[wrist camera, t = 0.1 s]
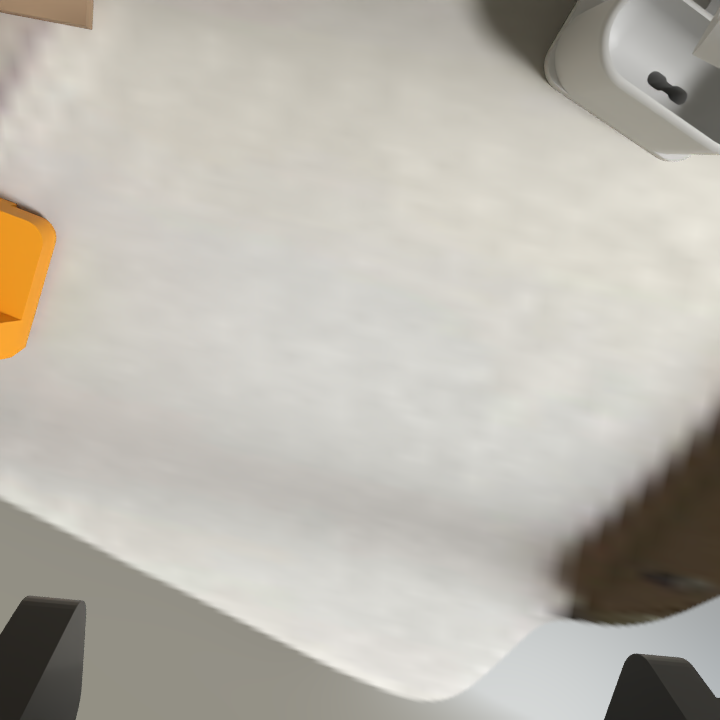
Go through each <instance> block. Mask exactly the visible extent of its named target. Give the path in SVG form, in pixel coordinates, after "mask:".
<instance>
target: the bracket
mask: <svg viewBox="0 0 720 720" xmlns="http://www.w3.org/2000/svg"><path fill="white" fill-rule="evenodd" d="M16 206H17V204H15V203H13V202H10V201H8V200H5V199H2V198H0V359H5V358H10V357H12V356H14V355H15V354H16V353H18V352H19V351H21V350H22V349H23V348H25V347H26V343H27V340H28V336H29V333H30V329H31V326H32V322H33V319H34V315H35V312H36V309H37V305H38V302H39V298H40V295H41V291H42V288H43V284H44V281H45V277H46V274H47V270H48V267H49V264H50V260H51V257H52V253H53V250H54V246H55V243H56V233H55V230H54V228H53V226H52V225H51V224H50V223H49V222H48V221H47V220H46V219H44V218H42V217H40V216H37V215H35V214H32V213H29V212H27V211H24V210H22V209H19V208H16Z"/></svg>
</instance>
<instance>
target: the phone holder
mask: <svg viewBox="0 0 720 720" xmlns="http://www.w3.org/2000/svg"><path fill="white" fill-rule="evenodd" d="M544 72H545V76H546V79H547V81H548V82H549V84H550V85H551V86H552V87H553V88H554V89H555V90H557V91H558V92H560V93H561V94H563V95H564V96H566V97H567V98H569V99H570V100H572V101H573V102H575V103H576V104H578V105H579V106H581V107H582V108H584V109H585V110H587V111H588V112H590V113H591V114H593V115H594V116H596V117H597V118H599V119H600V120H602V121H603V122H605V123H606V124H608V125H609V126H610V127H612V128H613V129H615V130H616V131H618V132H619V133H621V134H622V135H624V136H625V137H627V138H628V139H630V140H631V141H633V142H634V143H636V144H637V145H639V146H640V147H642V148H643V149H645V150H646V151H648V152H649V153H651V154H652V155H654V156H655V157H657V158H658V159H660V160H663V161H682V160H685V159H687V158H689V157H690V156H691V155H720V0H578V1H577V3H576V4H575V6H574V8H573V9H572V11H571V13H570V14H569V16H568V18H567V20H566V21H565V23H564V25H563V26H562V28H561V30H560V31H559V33H558V35H557V36H556V38H555V40H554V42H553V43H552V45H551V47H550V48H549V50H548V52H547V54H546V57H545V61H544Z"/></svg>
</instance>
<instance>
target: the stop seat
mask: <svg viewBox="0 0 720 720" xmlns="http://www.w3.org/2000/svg"><path fill="white" fill-rule="evenodd" d="M0 12H2V13H7V14H12V15H17V16H23V17H28V18H33V19H39V20H44V21H49V22H54V23H60V24H65V25H70V26H75V27H81V28H86V29H91V30H92V22H93V0H0Z"/></svg>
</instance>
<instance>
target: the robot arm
mask: <svg viewBox="0 0 720 720" xmlns="http://www.w3.org/2000/svg"><path fill="white" fill-rule="evenodd" d="M85 622H86V605H85V602H84V601H81V600H70V599H60V598H49V597H37V596H27V597H25V598H24V599H23V600H22V601H21V603H20V604H19V606H18V607H17V609H16V611H15V612H14V614H13V615H12V617H11V618H10V620H9V622H8V623H7V625H6V626H5V628H4V630H3V631H2V633H1V634H0V720H75V719H76V716H77V711H78V707H79V702H80V696H81V687H82V671H83V655H84V639H85ZM604 720H720V698H716V697H715V695H714V694H713V693H712V691H711V690H710V689H709V687H708V686H707V685H706V683H705V682H704V681H703V679H702V678H701V677H700V675H699V674H698V672H697V671H696V670H695V668H694V667H693V666H692V665H691V664H690V663H689V662H688V661H687V660H685V659H683V658H678V657H677V658H676V657H666V656H656V655H645V654H632V655H630V656H629V657H628V658H627V660H626V661H625V663H624V665H623V668H622V671H621V674H620V676H619V679H618V682H617V685H616V688H615V690H614V693H613V696H612V699H611V702H610V704H609V707H608V710H607V713H606V716H605V719H604Z"/></svg>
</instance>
